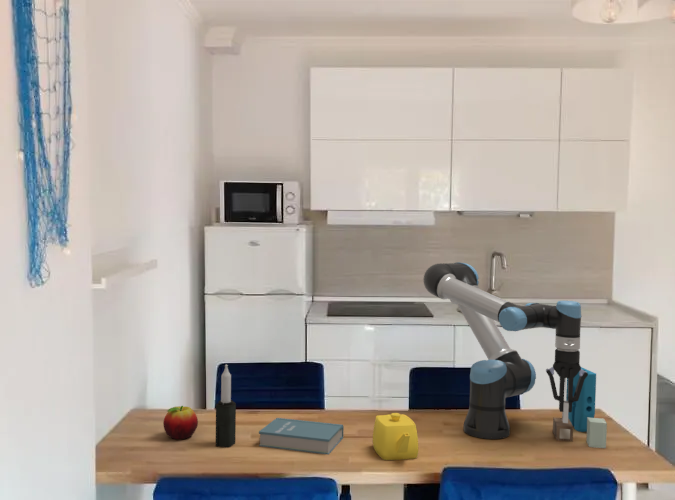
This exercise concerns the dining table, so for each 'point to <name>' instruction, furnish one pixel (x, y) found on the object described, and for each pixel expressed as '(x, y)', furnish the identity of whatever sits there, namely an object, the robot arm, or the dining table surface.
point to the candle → (225, 413)
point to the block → (583, 401)
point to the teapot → (395, 437)
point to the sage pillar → (596, 432)
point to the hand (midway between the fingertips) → (565, 421)
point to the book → (301, 435)
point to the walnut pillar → (562, 430)
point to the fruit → (180, 422)
